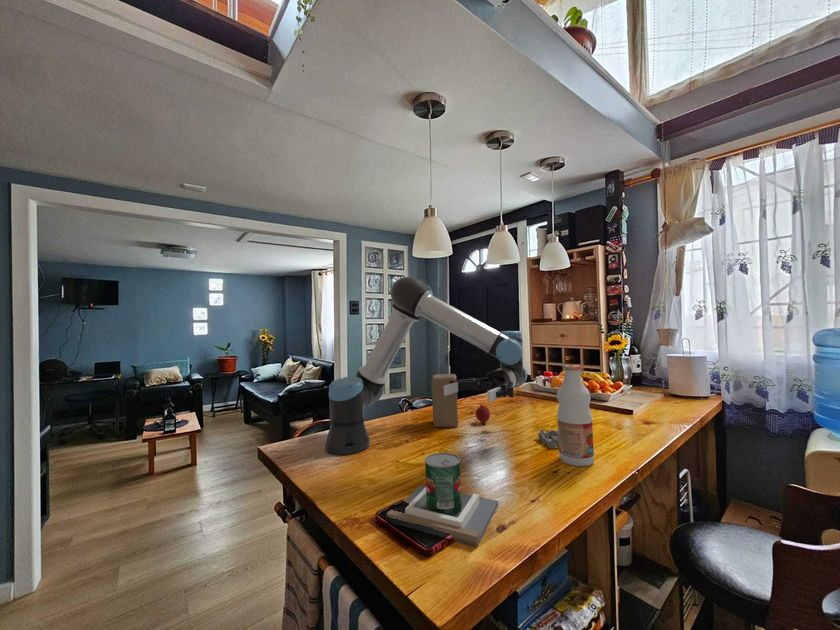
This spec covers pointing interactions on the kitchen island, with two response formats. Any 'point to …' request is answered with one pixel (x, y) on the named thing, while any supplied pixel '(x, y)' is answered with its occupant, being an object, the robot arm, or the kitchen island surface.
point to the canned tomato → (443, 484)
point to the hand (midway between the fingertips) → (465, 393)
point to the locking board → (461, 527)
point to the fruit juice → (574, 419)
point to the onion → (482, 414)
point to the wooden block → (444, 402)
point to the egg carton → (545, 438)
